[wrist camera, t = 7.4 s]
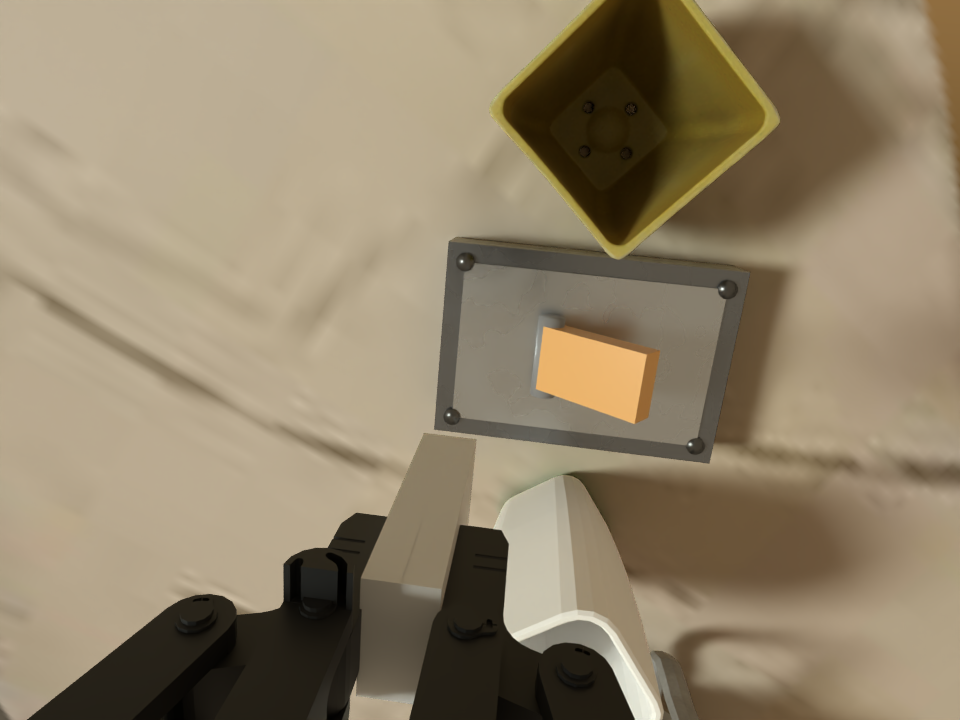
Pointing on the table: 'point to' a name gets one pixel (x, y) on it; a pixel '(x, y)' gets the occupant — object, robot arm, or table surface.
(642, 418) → the paddle
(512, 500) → the cup
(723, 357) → the panel
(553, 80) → the flower pot
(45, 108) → the table surface
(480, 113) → the table surface
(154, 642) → the robot arm
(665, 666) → the mug
